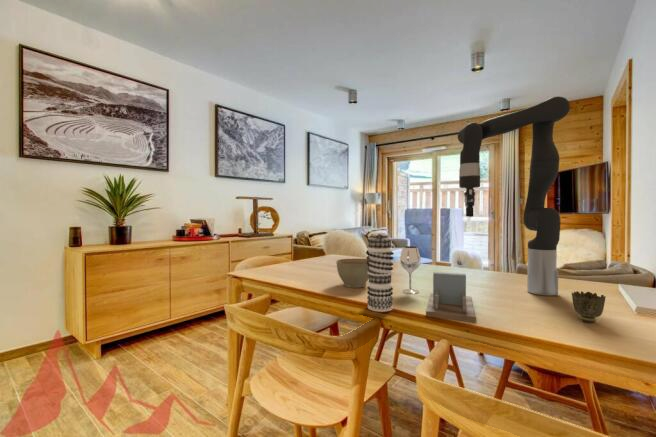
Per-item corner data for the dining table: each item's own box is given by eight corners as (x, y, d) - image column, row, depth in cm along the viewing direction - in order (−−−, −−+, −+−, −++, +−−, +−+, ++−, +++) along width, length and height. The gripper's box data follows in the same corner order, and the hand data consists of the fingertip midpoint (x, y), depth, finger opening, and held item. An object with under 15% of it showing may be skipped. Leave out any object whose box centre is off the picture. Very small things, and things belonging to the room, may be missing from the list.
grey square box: (433, 300, 103) (433, 271, 103) (465, 303, 99) (465, 274, 99) (433, 302, 101) (433, 273, 101) (465, 306, 97) (465, 275, 97)
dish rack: (430, 296, 113) (430, 281, 113) (471, 300, 108) (471, 284, 108) (425, 316, 93) (425, 296, 93) (476, 321, 87) (476, 301, 87)
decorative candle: (377, 314, 95) (377, 235, 94) (361, 305, 103) (360, 233, 103) (399, 309, 99) (399, 234, 99) (382, 301, 107) (382, 232, 107)
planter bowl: (379, 283, 134) (378, 259, 134) (363, 292, 121) (363, 265, 120) (347, 279, 143) (347, 257, 143) (329, 287, 129) (329, 262, 129)
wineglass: (421, 294, 116) (421, 248, 116) (400, 293, 118) (400, 248, 117) (419, 289, 124) (419, 246, 124) (399, 288, 126) (399, 245, 125)
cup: (564, 317, 91) (565, 291, 90) (587, 316, 91) (587, 290, 91) (588, 326, 83) (588, 298, 83) (612, 325, 84) (612, 297, 84)
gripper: (481, 173, 111) (481, 216, 111) (478, 176, 124) (478, 216, 124) (459, 174, 113) (459, 216, 114) (458, 177, 127) (458, 216, 127)
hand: (469, 216), depth 119 cm, fingers open, 8 cm apart
